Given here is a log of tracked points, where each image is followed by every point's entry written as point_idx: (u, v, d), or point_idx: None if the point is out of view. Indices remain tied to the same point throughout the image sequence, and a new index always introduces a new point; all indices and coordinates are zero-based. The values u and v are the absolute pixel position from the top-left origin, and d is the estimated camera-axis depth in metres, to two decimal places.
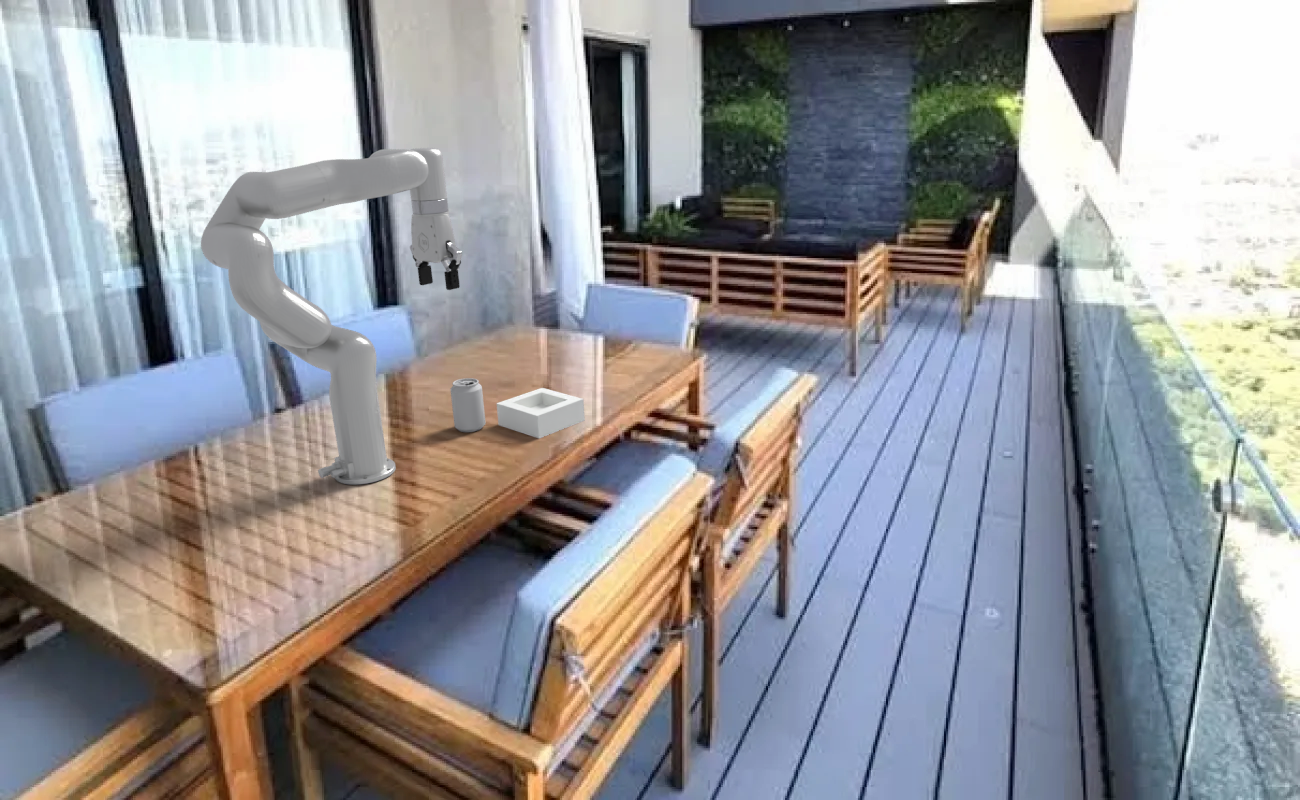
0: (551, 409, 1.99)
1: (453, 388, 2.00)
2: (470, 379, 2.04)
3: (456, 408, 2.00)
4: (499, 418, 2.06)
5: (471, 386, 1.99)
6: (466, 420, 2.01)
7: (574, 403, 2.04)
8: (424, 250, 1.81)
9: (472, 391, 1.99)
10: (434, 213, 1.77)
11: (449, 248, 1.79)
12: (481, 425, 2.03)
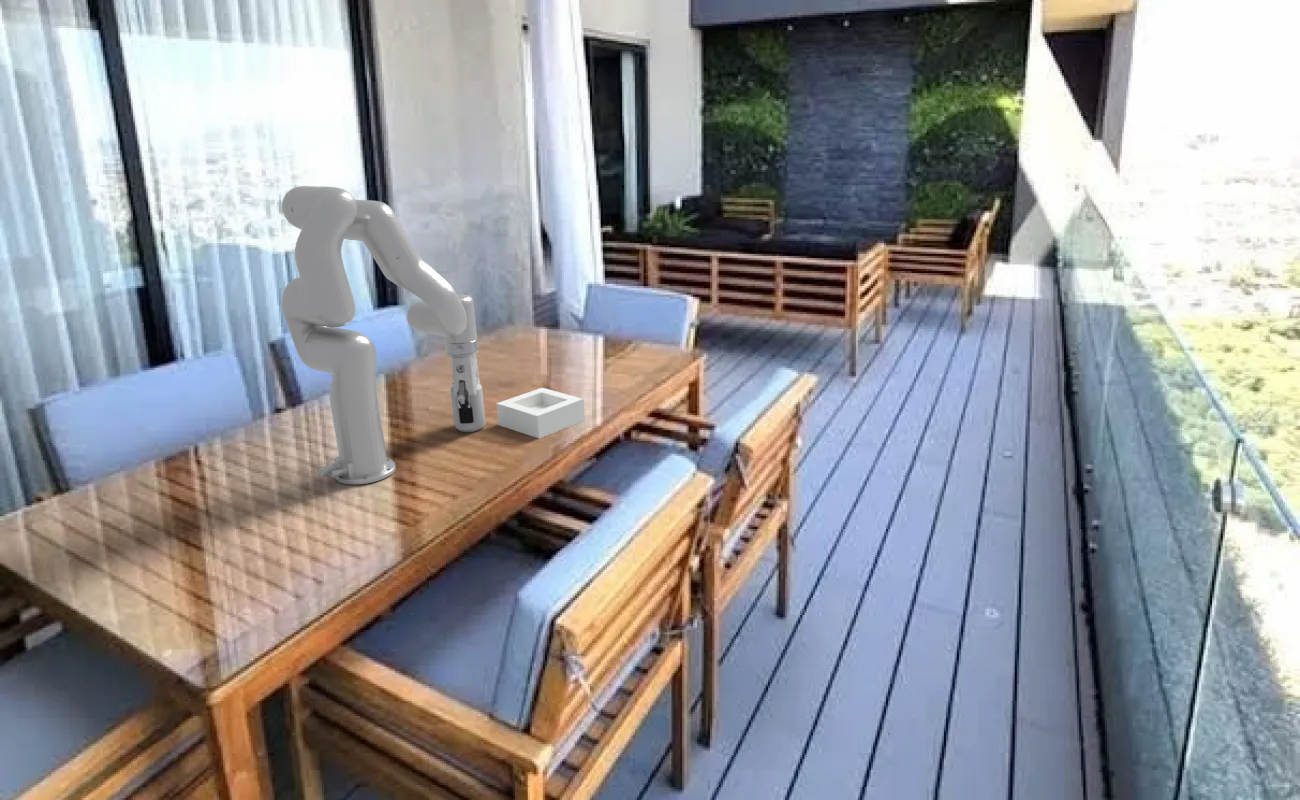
0: (551, 409, 1.99)
1: (453, 388, 2.00)
2: None
3: (456, 408, 2.00)
4: (499, 418, 2.06)
5: None
6: None
7: (574, 403, 2.04)
8: None
9: None
10: None
11: None
12: (481, 425, 2.03)
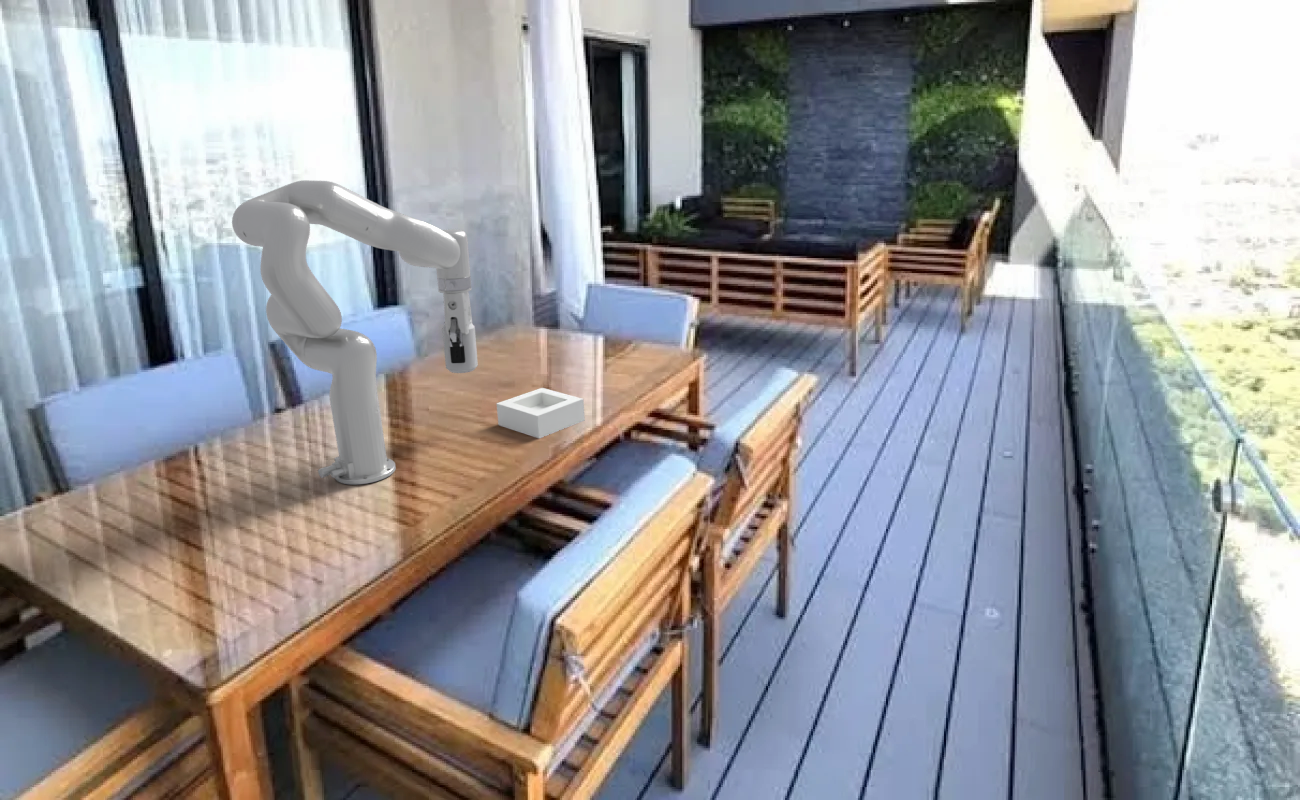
0: (551, 409, 1.99)
1: (445, 327, 1.95)
2: None
3: (448, 347, 1.95)
4: (499, 418, 2.06)
5: None
6: None
7: (574, 403, 2.04)
8: (469, 320, 1.97)
9: None
10: None
11: None
12: (473, 366, 1.98)
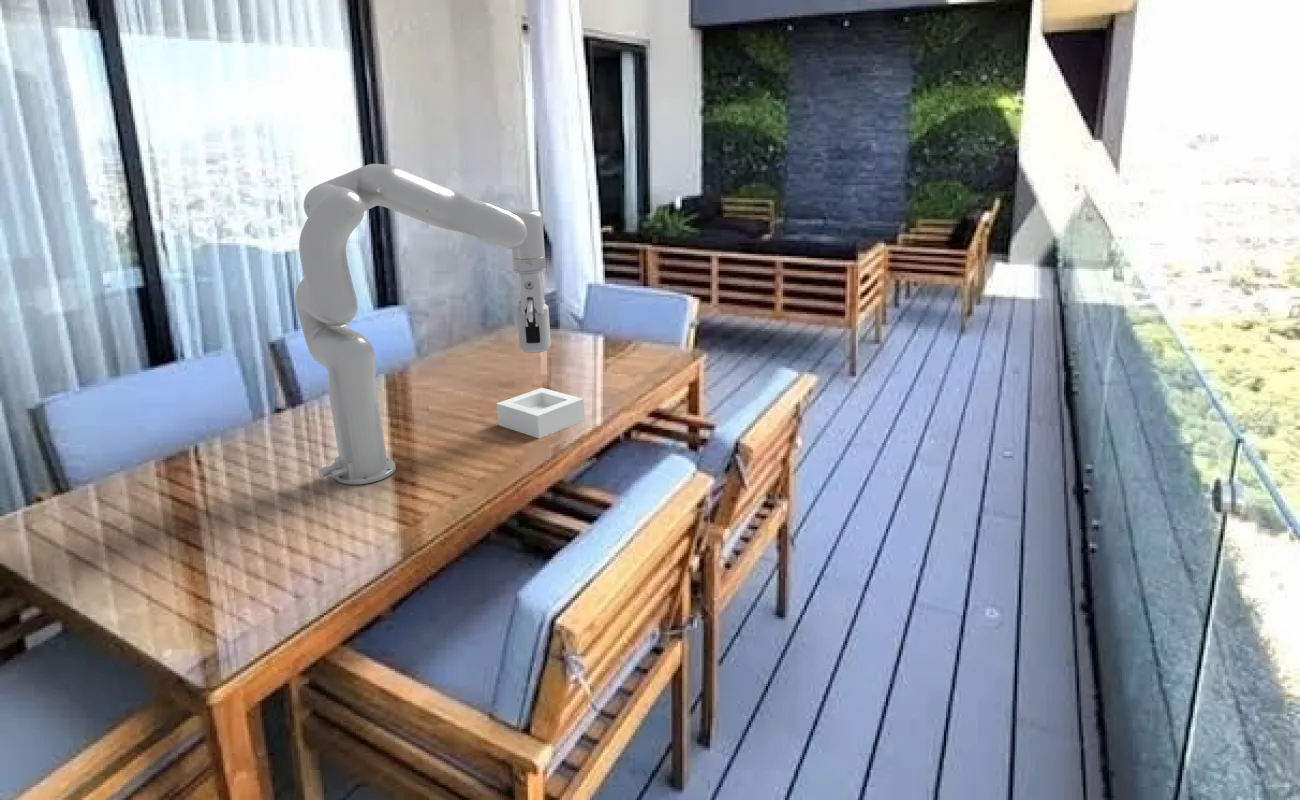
0: (551, 409, 1.99)
1: (520, 307, 1.96)
2: None
3: (523, 327, 1.96)
4: (499, 418, 2.06)
5: None
6: None
7: (574, 403, 2.04)
8: None
9: None
10: None
11: None
12: (547, 346, 1.99)
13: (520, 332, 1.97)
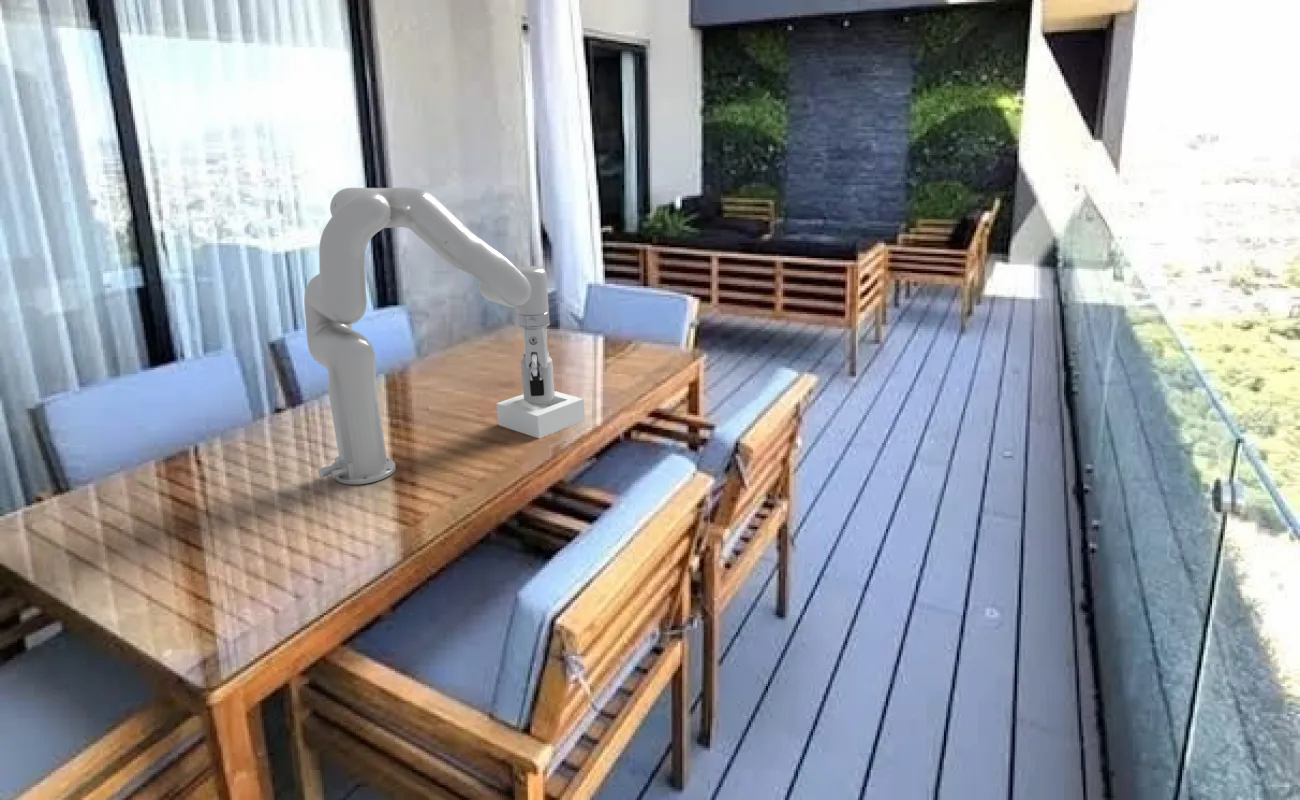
0: (551, 409, 1.99)
1: (524, 360, 2.00)
2: None
3: (527, 380, 2.00)
4: (499, 418, 2.06)
5: None
6: None
7: (574, 403, 2.04)
8: (547, 354, 2.02)
9: None
10: None
11: None
12: (551, 398, 2.03)
13: (524, 385, 2.02)
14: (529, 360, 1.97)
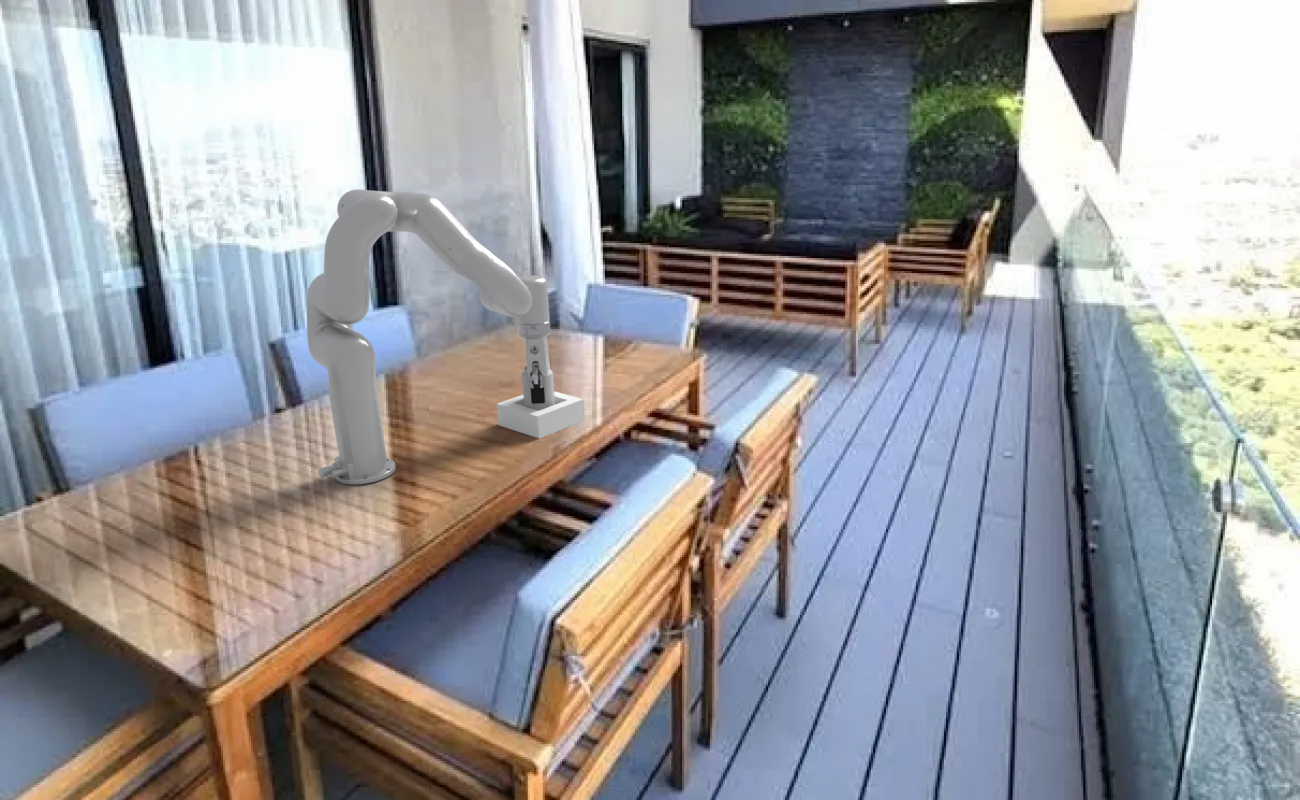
0: (551, 409, 1.99)
1: (525, 373, 2.01)
2: None
3: (528, 393, 2.01)
4: (499, 418, 2.06)
5: None
6: (538, 405, 2.02)
7: (574, 403, 2.04)
8: None
9: (544, 376, 2.00)
10: None
11: None
12: None
13: (525, 397, 2.03)
14: (530, 369, 1.98)
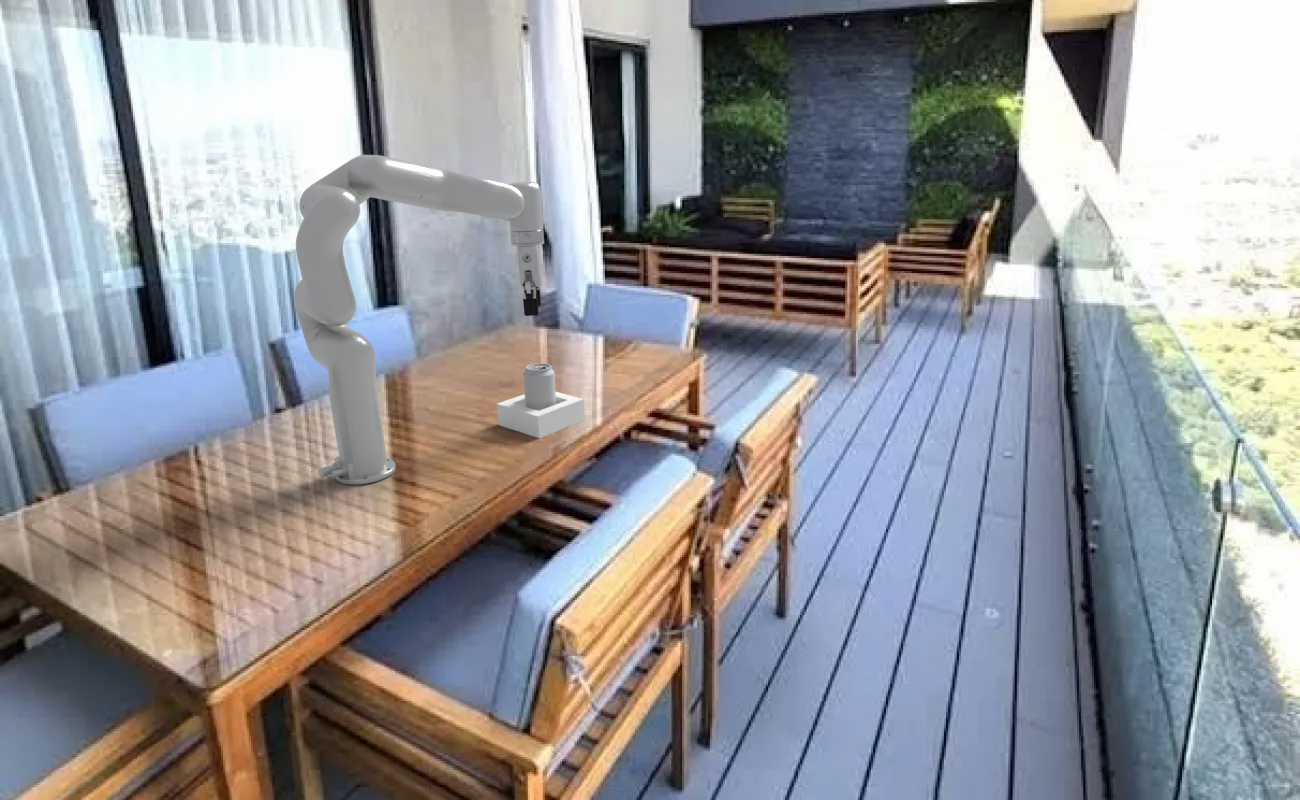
0: (551, 409, 2.00)
1: (527, 372, 2.01)
2: (541, 364, 2.05)
3: (530, 392, 2.01)
4: (499, 418, 2.06)
5: (545, 370, 2.01)
6: (540, 405, 2.02)
7: (574, 403, 2.04)
8: (542, 274, 1.96)
9: (547, 375, 2.00)
10: None
11: None
12: None
13: (527, 397, 2.02)
14: (523, 279, 1.90)
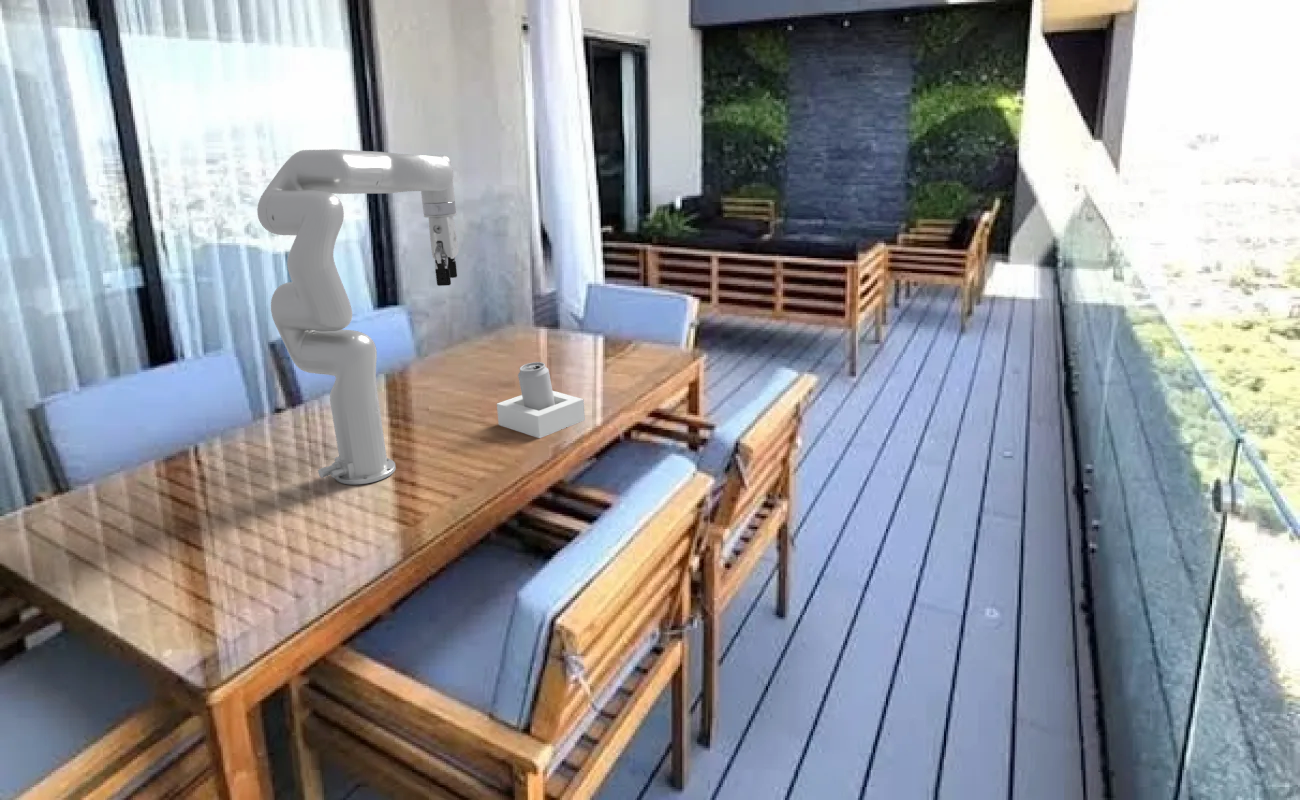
0: (551, 409, 2.00)
1: (523, 374, 2.00)
2: (533, 363, 2.05)
3: (529, 393, 2.01)
4: (499, 418, 2.06)
5: (541, 369, 2.01)
6: (541, 404, 2.02)
7: (574, 403, 2.04)
8: (455, 246, 2.01)
9: (544, 373, 2.00)
10: None
11: None
12: None
13: (526, 398, 2.02)
14: (434, 249, 1.96)
